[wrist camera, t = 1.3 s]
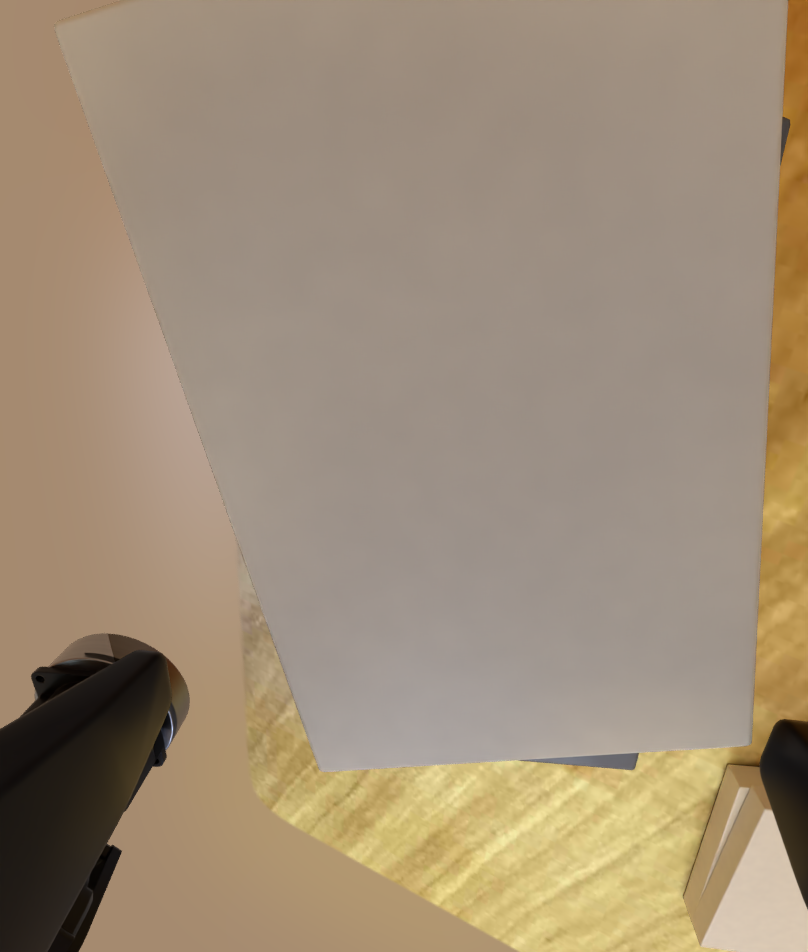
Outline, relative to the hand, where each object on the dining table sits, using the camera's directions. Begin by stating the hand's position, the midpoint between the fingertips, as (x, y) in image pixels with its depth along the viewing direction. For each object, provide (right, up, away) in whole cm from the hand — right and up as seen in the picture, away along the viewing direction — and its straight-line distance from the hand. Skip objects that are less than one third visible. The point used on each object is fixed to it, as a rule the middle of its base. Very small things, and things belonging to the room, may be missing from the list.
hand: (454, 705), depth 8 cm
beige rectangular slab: (+18, -15, +19) cm, 30 cm away
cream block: (0, +5, +1) cm, 5 cm away
